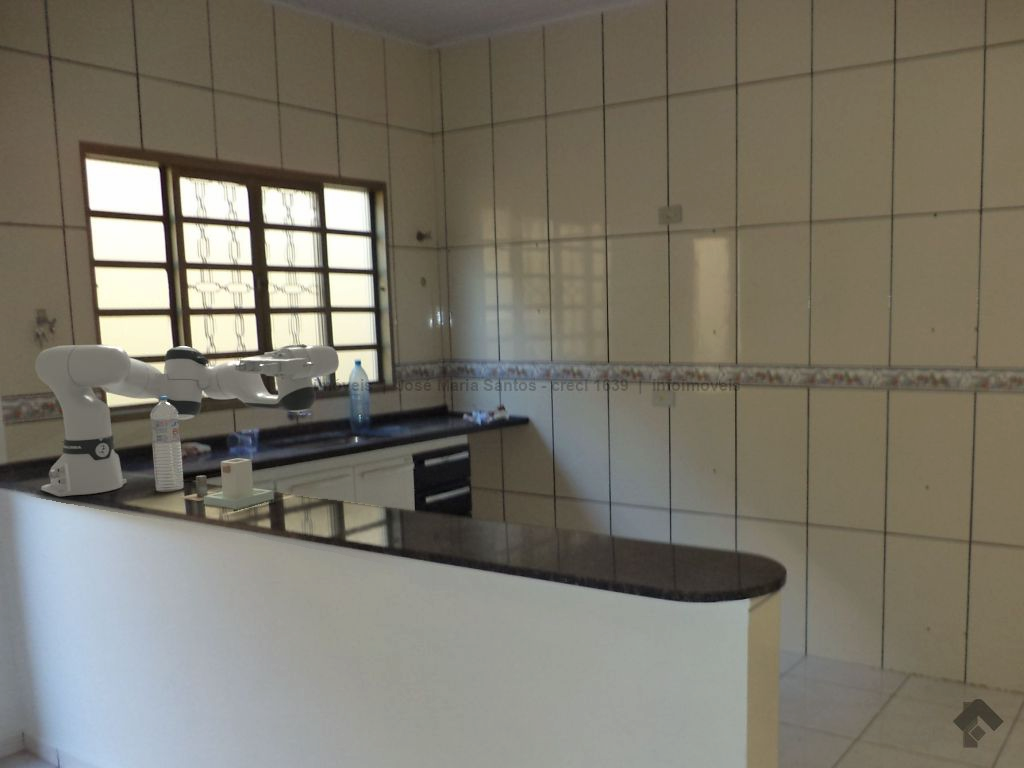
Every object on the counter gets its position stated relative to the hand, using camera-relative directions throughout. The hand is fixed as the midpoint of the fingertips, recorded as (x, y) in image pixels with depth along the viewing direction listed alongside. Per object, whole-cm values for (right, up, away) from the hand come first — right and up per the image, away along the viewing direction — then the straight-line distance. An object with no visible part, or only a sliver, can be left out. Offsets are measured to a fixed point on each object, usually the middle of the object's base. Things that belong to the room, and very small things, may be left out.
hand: (248, 368), depth 213 cm
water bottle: (-23, -32, +7) cm, 40 cm away
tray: (+1, -33, -11) cm, 35 cm away
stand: (-10, -33, -4) cm, 34 cm away
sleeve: (+1, -32, -12) cm, 34 cm away
